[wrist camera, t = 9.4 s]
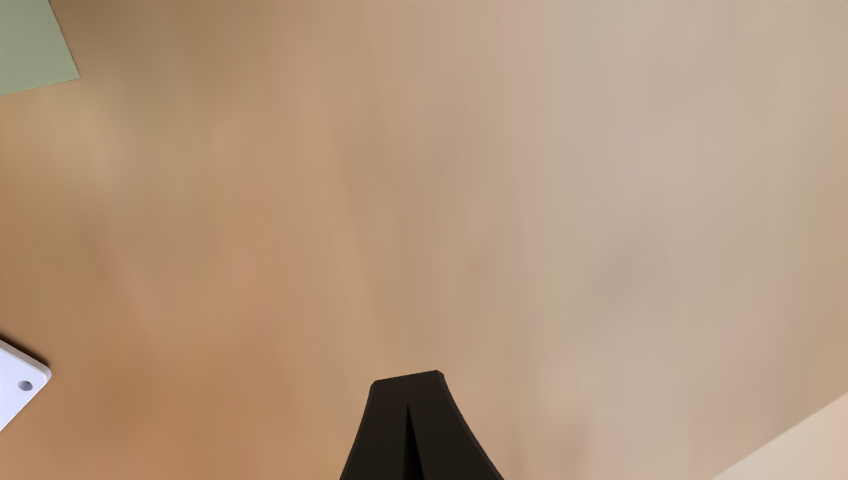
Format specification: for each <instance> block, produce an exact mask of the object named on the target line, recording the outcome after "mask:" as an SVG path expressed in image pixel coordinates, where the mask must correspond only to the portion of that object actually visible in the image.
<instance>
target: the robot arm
mask: <svg viewBox="0 0 848 480" xmlns="http://www.w3.org/2000/svg"><path fill="white" fill-rule="evenodd" d="M50 378H51V371H50V370H49V368H48V367H46V366H45V365H44V364H42V363H40V362H38V361H37V360H35V359H33V358H31V357H29V356H28V355H26V354H24V353H22V352H21V351H19V350H17V349H15V348H14V347H12V346H10V345H8V344H7V343H5V342H3V341H1V340H0V431H1V430H2V429H3V428H4V427H5V425H6V424H7V423H8V422H9V421H10V420H11V419H12V418H13V417H14V416H15V415H16V414H17V413H18V412H19V411H20V410H21V409H22V408H23V407H24V406H25V405H26V404H27V403H28V402H29V401H30V400H31V399H32V398H33V396H34V395H35V394H36V393H37V392H38V391H39V390H40V389H41V388H42V387H43V386H44V385H45V384H46V383H47V382H48V381H49V379H50ZM26 381H28V382H30V383H31V384H29V383H27V382H26ZM339 480H504V479H503V477H502V476H501V475H500V473H499V472H498V470H497V469H496V468H495V466H494V465H493V463H492V462H491V460H490V459H489V458H488V456H487V455H486V453H485V451H484V450H483V448H482V447H481V445H480V444H479V442H478V441H477V439H476V438H475V436H474V435H473V433H472V431H471V430H470V428H469V426H468V425H467V423H466V422H465V420H464V418H463V416H462V414H461V413H460V411H459V409H458V407H457V405H456V403H455V401H454V399H453V397H452V395H451V393H450V391H449V389H448V386H447V384H446V381H445V378H444V375H443V373H441V372H440V371H438V370H434V371H428V372H422V373H416V374H410V375H405V376H399V377H393V378H387V379H382V380H376V381H375V382H374V383H373V384H372V385H371V387H370V392H369V396H368V400H367V404H366V407H365V411H364V414H363V417H362V420H361V423H360V426H359V429H358V432H357V435H356V438H355V441H354V444H353V446H352V449H351V451H350V454H349V456H348V459H347V462H346V464H345V467H344V469H343V472H342V474H341V477H340V479H339Z"/></svg>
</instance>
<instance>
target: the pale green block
mask: <svg viewBox="0 0 848 480" xmlns="http://www.w3.org/2000/svg"><path fill="white" fill-rule="evenodd" d="M79 78H80V75H79V73H78V70H77V68H76V66H75V63H74V61H73V58H72V56H71V54H70V51H69V49H68V46H67V44H66V42H65V39H64V37H63V34H62V32H61V30H60V27H59V25H58V22H57V20H56V18H55V15H54V13H53V10H52V8H51V6H50V3H49V1H48V0H0V96H1V95H6V94H10V93H15V92H20V91H24V90H29V89H33V88H38V87H43V86H47V85H52V84H56V83H61V82H66V81H70V80H75V79H79Z"/></svg>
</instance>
